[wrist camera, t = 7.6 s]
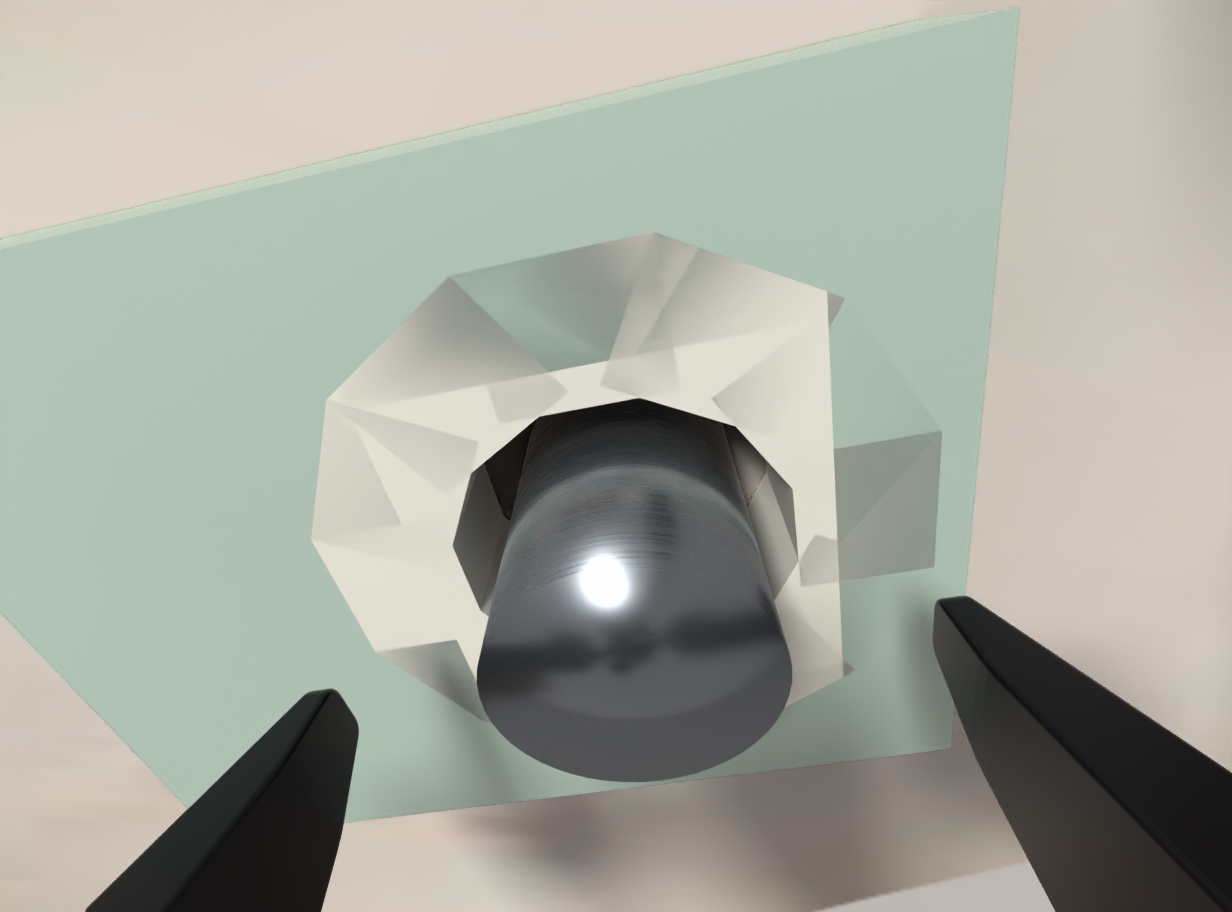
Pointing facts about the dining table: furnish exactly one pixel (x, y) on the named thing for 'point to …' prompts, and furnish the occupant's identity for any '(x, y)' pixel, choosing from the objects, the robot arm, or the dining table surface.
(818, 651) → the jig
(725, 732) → the dark metal cylinder
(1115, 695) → the robot arm
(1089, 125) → the dining table surface
